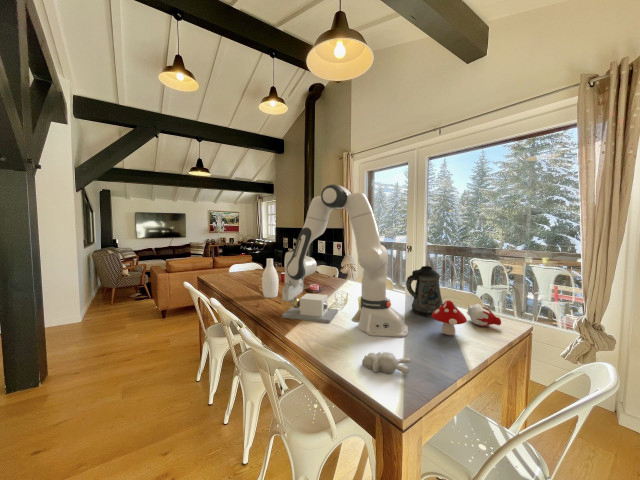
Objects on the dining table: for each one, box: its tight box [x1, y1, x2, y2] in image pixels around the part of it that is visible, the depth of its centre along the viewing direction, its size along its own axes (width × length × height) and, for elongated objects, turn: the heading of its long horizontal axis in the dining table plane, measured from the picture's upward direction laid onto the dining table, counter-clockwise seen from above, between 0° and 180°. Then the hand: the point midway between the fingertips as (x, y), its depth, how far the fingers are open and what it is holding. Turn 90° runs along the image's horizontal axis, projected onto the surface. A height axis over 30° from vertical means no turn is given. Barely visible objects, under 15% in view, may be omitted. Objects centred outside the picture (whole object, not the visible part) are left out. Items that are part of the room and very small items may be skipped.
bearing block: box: [281, 292, 339, 324], centre depth 136 cm, size 26×16×10 cm, turn 72°
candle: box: [466, 303, 502, 328], centre depth 120 cm, size 9×11×15 cm
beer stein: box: [405, 265, 444, 318], centre depth 137 cm, size 16×19×25 cm
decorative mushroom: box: [431, 300, 468, 336], centre depth 110 cm, size 14×14×15 cm
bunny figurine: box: [361, 352, 411, 375], centre depth 85 cm, size 10×5×15 cm
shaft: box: [292, 298, 328, 309], centre depth 136 cm, size 18×5×5 cm, turn 72°
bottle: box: [261, 258, 279, 299], centre depth 171 cm, size 11×11×25 cm
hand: (293, 304), depth 139 cm, fingers closed
